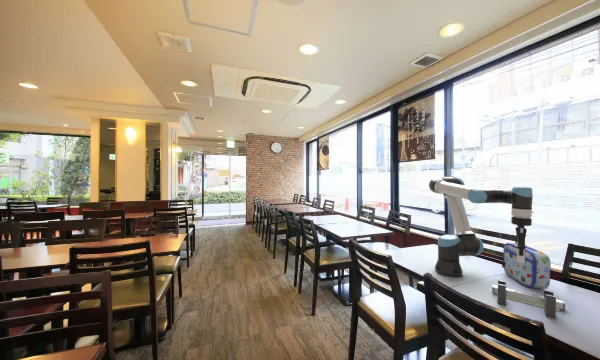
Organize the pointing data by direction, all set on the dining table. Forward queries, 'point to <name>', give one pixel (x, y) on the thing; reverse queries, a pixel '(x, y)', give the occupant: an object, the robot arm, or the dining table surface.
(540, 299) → the rail
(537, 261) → the lunch box
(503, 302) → the post left
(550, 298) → the post right
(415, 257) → the dining table surface
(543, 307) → the mat
